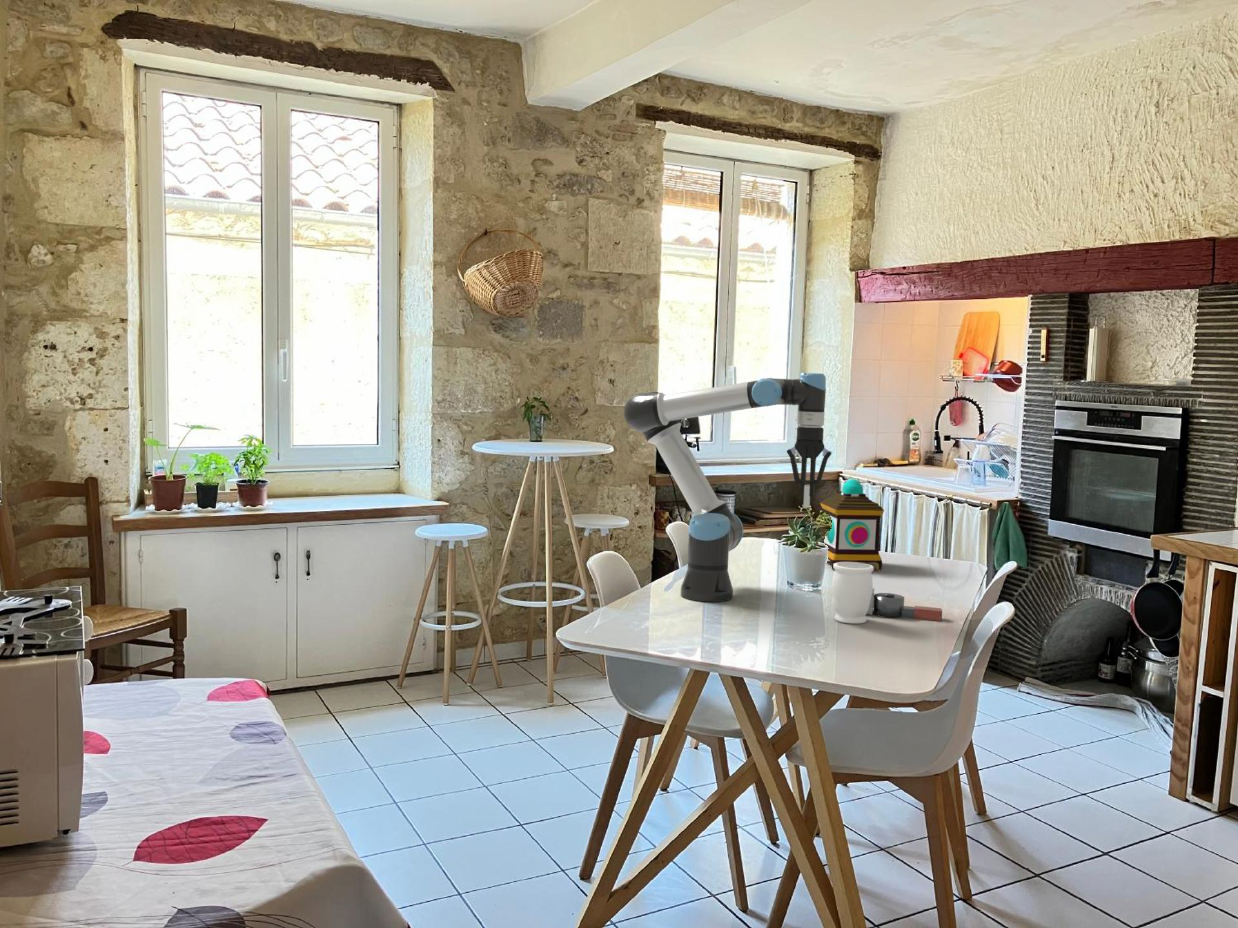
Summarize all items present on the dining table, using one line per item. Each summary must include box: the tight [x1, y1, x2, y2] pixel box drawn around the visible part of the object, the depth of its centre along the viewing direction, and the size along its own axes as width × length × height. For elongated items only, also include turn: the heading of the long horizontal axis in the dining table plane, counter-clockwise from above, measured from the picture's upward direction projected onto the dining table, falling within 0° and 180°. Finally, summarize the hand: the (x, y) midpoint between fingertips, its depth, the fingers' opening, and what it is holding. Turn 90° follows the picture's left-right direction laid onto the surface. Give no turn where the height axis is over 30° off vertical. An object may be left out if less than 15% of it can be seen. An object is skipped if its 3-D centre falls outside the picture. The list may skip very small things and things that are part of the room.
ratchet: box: [872, 592, 943, 622], centre depth 270 cm, size 22×8×6 cm, turn 73°
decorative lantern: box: [820, 478, 885, 571], centre depth 337 cm, size 20×20×30 cm
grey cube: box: [865, 588, 875, 615], centre depth 273 cm, size 6×6×6 cm
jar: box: [831, 562, 874, 625], centre depth 263 cm, size 11×10×15 cm
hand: (806, 507), depth 288 cm, fingers closed
